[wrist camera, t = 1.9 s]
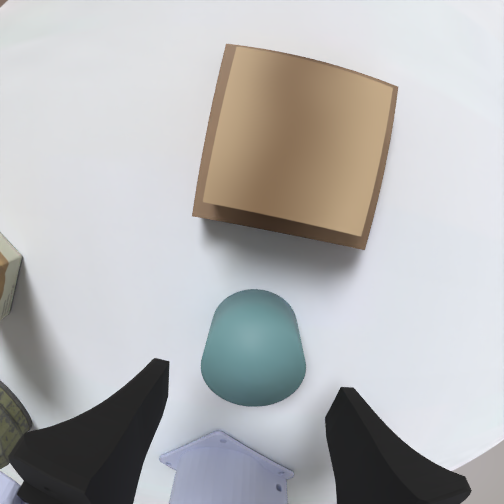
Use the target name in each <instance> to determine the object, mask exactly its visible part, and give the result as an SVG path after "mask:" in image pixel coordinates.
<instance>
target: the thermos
mask: <svg viewBox="0 0 504 504" xmlns="http://www.w3.org/2000/svg"><path fill="white" fill-rule="evenodd" d="M31 427H32V421H31V419H30V416H29V414H28V413H27V411H26V409H25V408H24V406H23V405H22V404H21V402H20V401H19V400H18V399H17V397H16V396H15V395H14V394H13V393H12V392H11V391H10V390H9V388H8V387H7V386H5V385H4V384H3V383H2V382H1V381H0V469H2V468H3V467H5V466H7V465H8V464H9V463H10V462H9V458H8V455H9V454H10V452H11V451H12V449H13V448H14V446H15V445H16V443H17V442H18V440H19V439H20V438H21V437H22V435H23V434H24V433H26V432H27V431H29V430H30V428H31Z"/></svg>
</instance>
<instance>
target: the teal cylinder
mask: <svg viewBox="0 0 504 504" xmlns="http://www.w3.org/2000/svg"><path fill="white" fill-rule="evenodd" d="M305 372H306V362H305V358H304V353H303V348H302V343H301V339H300V334H299V329H298V325H297V320H296V316H295V314H294V311H293V309H292V308H291V306H290V305H289V304H288V303H287V302H286V301H285V300H284V299H283V298H281V297H280V296H278V295H276V294H274V293H272V292H269V291H265V290H258V289H250V290H244V291H240V292H237V293H234V294H232V295H231V296H229V297H227V298H226V299H225V300H224V301H223V302H222V303H221V304H220V305H219V306H218V308H217V309H216V311H215V314H214V316H213V320H212V323H211V327H210V331H209V334H208V338H207V341H206V345H205V349H204V352H203V356H202V360H201V373H202V376H203V379H204V381H205V383H206V384H207V385H208V387H209V388H210V389H211V390H212V391H213V392H214V393H215V394H216V395H218V396H219V397H221V398H222V399H224V400H226V401H229V402H231V403H234V404H238V405H242V406H254V407H257V406H266V405H270V404H274V403H277V402H279V401H282V400H284V399H285V398H287V397H289V396H290V395H291V394H293V393H294V392H295V391H296V390H297V389H298V387H299V386H300V385H301V383H302V381H303V379H304V376H305Z"/></svg>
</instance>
